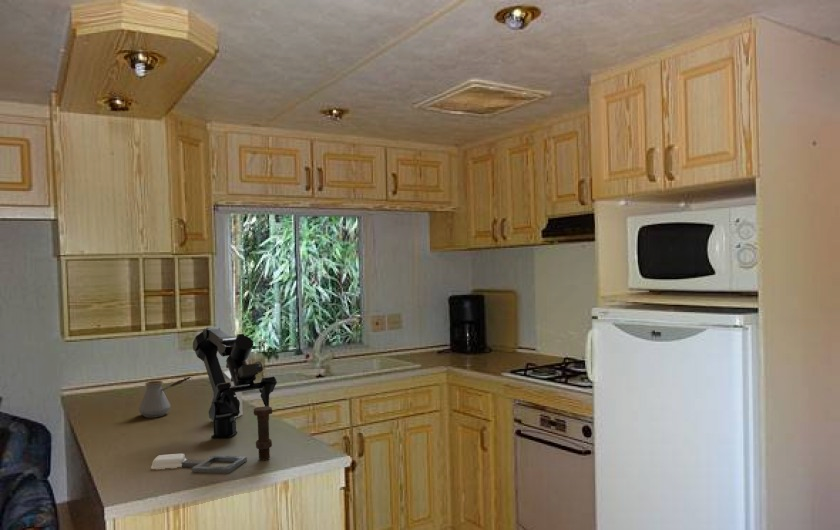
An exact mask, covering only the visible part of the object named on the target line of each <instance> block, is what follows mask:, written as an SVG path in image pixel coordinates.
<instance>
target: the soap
mask: <svg viewBox="0 0 840 530" xmlns="http://www.w3.org/2000/svg"><path fill="white" fill-rule="evenodd" d="M186 460H188V459H187V458H186V455H185V453H171V454H159V455H157V456H156V457H155V458H154V459H153V461H152V465H151V466H150V470H151V469H156V470H166V469H165V468H171V469H178V468H177V467H181V468H183V467H182V462H184V461H186Z"/></svg>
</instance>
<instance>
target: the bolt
mask: <svg viewBox="0 0 840 530" xmlns="http://www.w3.org/2000/svg"><path fill="white" fill-rule="evenodd" d="M272 414H273V408H272V407H271V406H269V407H268V406H265V405H264V406H258V407H255V408H253V416H256V418H257V419H256V420H257V438H258V439H257V440H256V441H255V447H256V449H257V450H258V460H260V459H261V460H260V461H267V459H268V460H269V459H270V458H271V457H270V454H271V453H270V449H271V448H272V446H273V441H272V439H271V438H270V424H269V423H270V421H269V420H270V415H272Z"/></svg>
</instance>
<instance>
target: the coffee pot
mask: <svg viewBox="0 0 840 530" xmlns="http://www.w3.org/2000/svg"><path fill="white" fill-rule="evenodd" d="M190 379H191V380H190ZM187 381H189V382H191V383H192V382H193V377H191V376H187V377H184V378H183V379H180V380H179V379H178V380H177V381H175V382H173V383H172V384H169V385H168V386H165V387H162V384H164V382H163V381H162V380H153V381H148V382H145V383H144V385H145V386H146V390H145V392H144V396H143V397H142V400H141V403H140V405H139V407H138V412H139V414H140V415H142V416H144V417H145V418H149V419H150V418H158V417H159V418H160V417H164V416H165V415H166V414H167V413H168V412H169V411H170V409H171V403H170V401H169V400H168V398H167V396H166V394H165V392H164V391H166V390H168V389H169V388H170V389H171V388H172V387H175V386H178V385H180V384H182V383H184V382H187Z"/></svg>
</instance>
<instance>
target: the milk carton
mask: <svg viewBox="0 0 840 530" xmlns="http://www.w3.org/2000/svg"><path fill="white" fill-rule="evenodd" d="M221 369H222V372H223V375H224V378H225V381H226V383H227V382H229V383H230V384H231V386H234V383H233V382H231V374H230V371H229V368H226V367H223V368H221ZM235 394H236V396H237V398H238V400H239V402H240V407H239V411H240V413H239V414H238V416H235V419H236V418H238V417H241V416H243V392H235Z"/></svg>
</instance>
